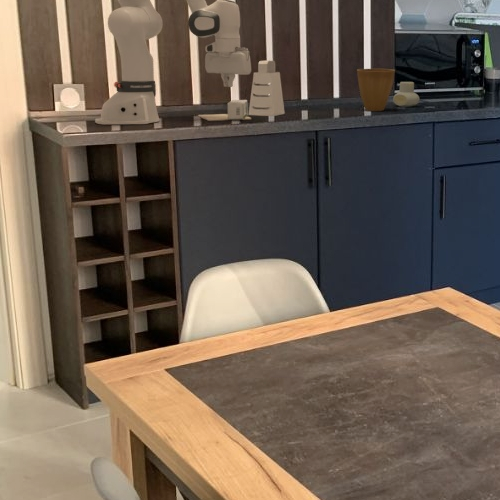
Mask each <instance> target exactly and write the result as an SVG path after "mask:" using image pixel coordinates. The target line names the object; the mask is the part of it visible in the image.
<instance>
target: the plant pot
mask: <svg viewBox="0 0 500 500" xmlns="http://www.w3.org/2000/svg"><path fill="white" fill-rule="evenodd" d="M395 73H396V69H389V68H358V69H356V74H357V81H358V88H359V94H360V98H361V100H362V104H363V108H364V110H365V111H369V112H382V111H384V110H385V108H386V105H387V104H388V100H389V97H390V95H391V91H392V87H393V83H394V78H395Z"/></svg>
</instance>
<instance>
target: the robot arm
mask: <svg viewBox="0 0 500 500" xmlns="http://www.w3.org/2000/svg"><path fill="white" fill-rule="evenodd" d="M116 1H117V2H118V4H119V5H120V7H119V8H118V7H117V8H116V9H114V10H112V11H111V12H110V14H109V15H108V18H107V27H108V30H109V32H110V33H111V35H112V36H113V38H114V39H115V42H116V45H117V48H118V52H119V55H120V56H119V57H120V67H121V80H120V81H115V82H114V83H113V86H114V88H116V91H117V92H116V93H114V94H113V95H112V96H110V98H108V99H107V100H106V101H105V102H104V103H103V105H102V106H101V111H100V112H101V113H100V116H101V117H97V118H95V119H94V123H96V124H98V125H147V124H151V123H156V122H160V118H159V114H158V109H157V103H156V94H157V89H156V88H157V87H156V86H157V84H156V80H155V79H154V78H155V72H154V58H153V55H152V54H151V52H150V50H149V47H148V45H147V44H148V43H147V41H146V40H151V39H153V38H155V37H156V36H158V35H159V34H160V33H161V32H162V30H163V27H164V26H163V24H164V23H163V18H162V15H161V14H160V13H159V12H158V11H157V10H156V8H155V7H154V5H153V2H151V0H116ZM185 1H186V3H187V6H188V8H189V9H190V12H191V14H190V16H189V17H188V22H187V25H188V30H189V31H190V32H191V33H192V34H193V36H195V37H198V38H202V39H211V38H214V39H215V41H213V42H212V43H209V44H208V45H205V52H206V54H205V57H204V58H205V61H204V64H205V66H204V67H205V68H204V69H205V71H206V73H207V74H220V77H221V79H222V82H223V87H225V88H230V87H231V88H232V87H234V86H233V83H234V81H235V79H236V75H244V76H245V75H246V76H247V75H250V74H251V72H252V62H251V56H250V51H249V49H248V48H247V47H241V36H240V27H241V13H240V8H239V5H238V3H237V2H236V1H234V0H215V1H214V2H213V3H211V4H209V5H208V3H207V1H206V0H185Z"/></svg>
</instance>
